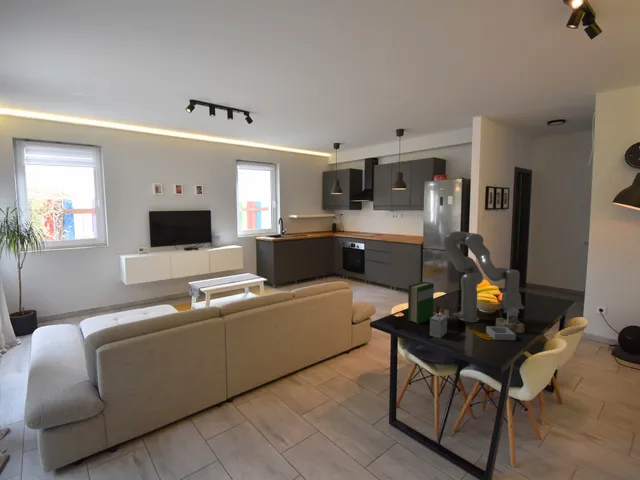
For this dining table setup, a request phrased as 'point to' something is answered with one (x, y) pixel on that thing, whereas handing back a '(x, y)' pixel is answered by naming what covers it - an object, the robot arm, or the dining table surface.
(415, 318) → the hardback book
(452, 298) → the dining table surface
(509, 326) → the brown square tray
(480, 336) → the dining table surface
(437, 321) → the light bulb box
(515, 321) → the syrup box
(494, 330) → the seat block
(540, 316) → the dining table surface
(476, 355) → the dining table surface
